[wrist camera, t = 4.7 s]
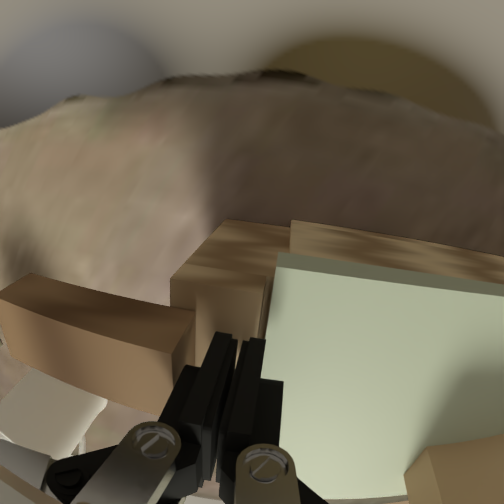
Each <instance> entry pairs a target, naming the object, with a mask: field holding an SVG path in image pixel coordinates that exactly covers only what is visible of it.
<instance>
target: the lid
mask: <svg viewBox="0 0 504 504" xmlns="http://www.w3.org/2000/svg"><path fill="white" fill-rule="evenodd" d="M265 339H266V345H265V352H264V359H263V365H262V372H261V378H264V379H271V380H279V381H284V388H283V402H282V416H281V429H280V441H279V447H281V448H282V449H284V450H285V451H287V452H288V453H289V454H290V456H291V457H292V458H293V461H294V463H295V468H296V475H297V477H298V478H299V479H300V480H301V481H302V482H303V483H304V484H306V485H307V486H308V487H309V488H310V489H312V490H313V491H314V492H315V493H316V494H318V495H319V496H320V497H321V498H322V499H358V498H375V497H387V496H397V495H406V494H407V496H408V501H409V504H504V285H503V284H497V283H490V282H483V281H477V280H470V279H463V278H456V277H450V276H443V275H436V274H429V273H423V272H416V271H409V270H402V269H395V268H388V267H381V266H375V265H368V264H361V263H354V262H347V261H340V260H333V259H326V258H319V257H312V256H305V255H298V254H291V253H284V252H278V257H277V264H276V271H275V278H274V284H273V291H272V298H271V304H270V311H269V318H268V324H267V330H266V337H265Z"/></svg>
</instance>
